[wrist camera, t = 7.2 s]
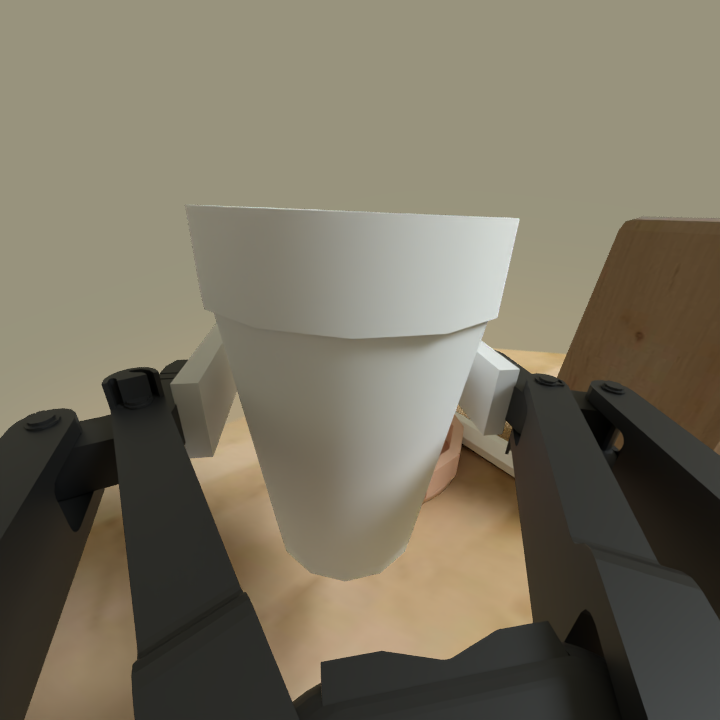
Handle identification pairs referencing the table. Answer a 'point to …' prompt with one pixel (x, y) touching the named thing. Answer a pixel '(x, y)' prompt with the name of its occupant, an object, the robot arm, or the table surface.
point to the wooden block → (657, 322)
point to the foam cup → (349, 359)
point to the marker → (486, 445)
